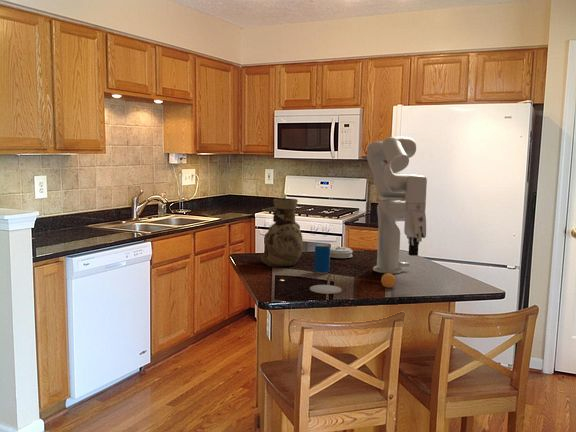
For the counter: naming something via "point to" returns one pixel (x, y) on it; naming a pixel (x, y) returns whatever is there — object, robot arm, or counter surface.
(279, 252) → the ceramic vessel
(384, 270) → the robot arm
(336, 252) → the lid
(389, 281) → the ball
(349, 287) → the counter surface
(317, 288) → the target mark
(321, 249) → the beverage can
